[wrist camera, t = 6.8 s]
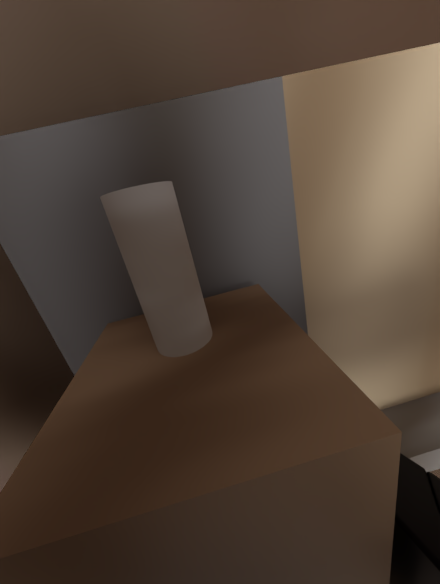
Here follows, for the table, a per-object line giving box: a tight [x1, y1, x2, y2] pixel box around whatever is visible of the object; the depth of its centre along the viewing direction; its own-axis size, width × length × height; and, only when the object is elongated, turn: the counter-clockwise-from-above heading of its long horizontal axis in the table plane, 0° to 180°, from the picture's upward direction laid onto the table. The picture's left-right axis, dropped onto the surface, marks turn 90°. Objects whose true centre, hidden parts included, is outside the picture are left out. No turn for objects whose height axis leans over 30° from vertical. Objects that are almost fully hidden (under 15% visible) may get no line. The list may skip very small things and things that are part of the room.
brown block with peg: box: [0, 181, 402, 584], centre depth 5 cm, size 4×10×5 cm, turn 12°
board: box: [0, 43, 440, 472], centre depth 8 cm, size 21×14×4 cm, turn 102°
